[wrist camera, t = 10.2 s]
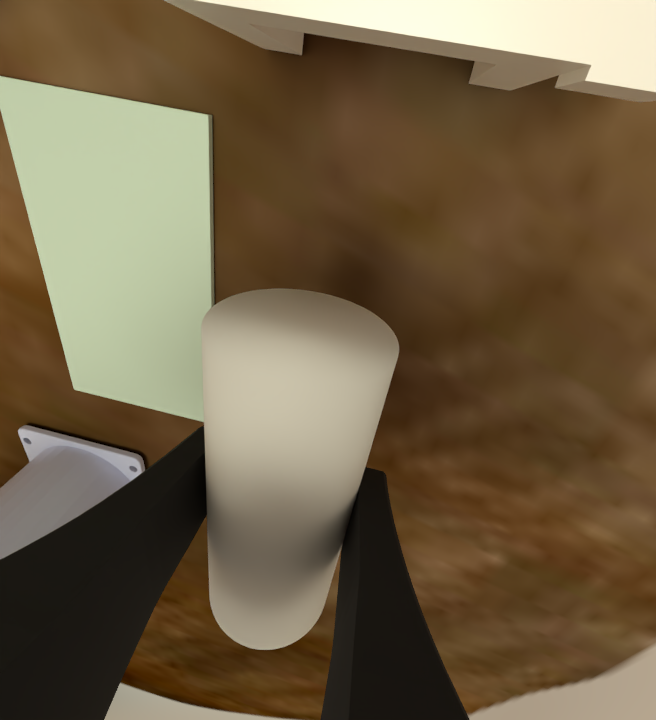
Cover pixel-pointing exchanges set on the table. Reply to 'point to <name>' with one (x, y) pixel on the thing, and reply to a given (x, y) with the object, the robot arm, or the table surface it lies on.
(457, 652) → the table surface
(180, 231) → the mat
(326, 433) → the cylinder
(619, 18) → the cream flat notched block
